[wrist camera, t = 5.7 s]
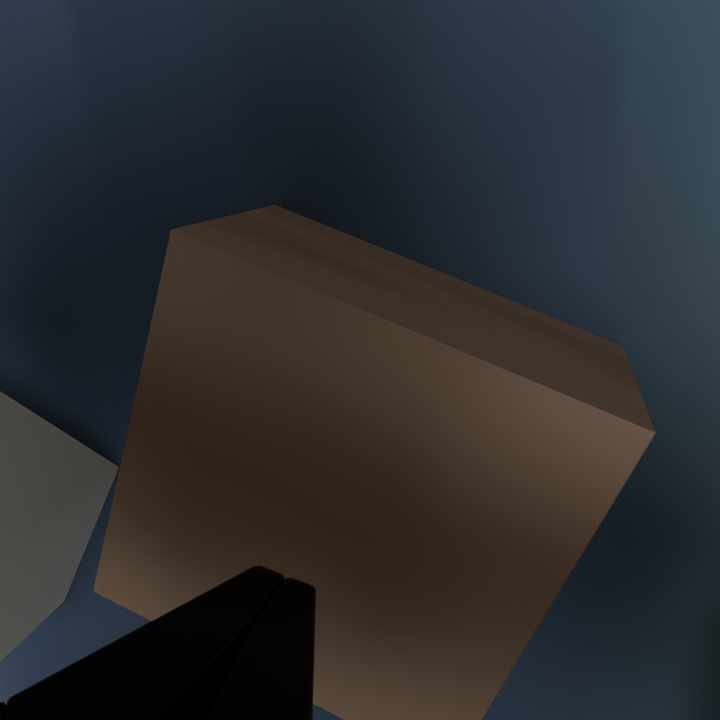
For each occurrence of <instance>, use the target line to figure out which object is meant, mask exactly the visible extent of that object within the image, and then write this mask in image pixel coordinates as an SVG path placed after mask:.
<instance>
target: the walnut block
mask: <svg viewBox="0 0 720 720" xmlns="http://www.w3.org/2000/svg"><path fill="white" fill-rule="evenodd" d="M655 433H656V432H655V430H654V427H653V424H652V422H651V419H650V416H649V414H648V411H647V409H646V406H645V403H644V401H643V398H642V395H641V393H640V390H639V387H638V385H637V382H636V379H635V377H634V374H633V372H632V369H631V366H630V364H629V361H628V358H627V356H626V353H625V350H624V348H623V345H620V344H618V343H615V342H613V341H611V340H608V339H606V338H603V337H601V336H598V335H596V334H593V333H591V332H588V331H586V330H583V329H581V328H578V327H576V326H573V325H571V324H569V323H566V322H564V321H561V320H559V319H556V318H554V317H551V316H549V315H546V314H544V313H541V312H539V311H536V310H534V309H531V308H529V307H527V306H524V305H522V304H519V303H517V302H514V301H512V300H509V299H507V298H504V297H502V296H499V295H497V294H494V293H492V292H489V291H487V290H485V289H482V288H480V287H477V286H475V285H472V284H470V283H467V282H465V281H462V280H460V279H457V278H455V277H452V276H450V275H448V274H445V273H443V272H440V271H438V270H435V269H433V268H430V267H428V266H425V265H423V264H420V263H418V262H415V261H413V260H410V259H408V258H406V257H403V256H401V255H398V254H396V253H393V252H391V251H388V250H386V249H383V248H381V247H378V246H376V245H373V244H371V243H368V242H366V241H364V240H361V239H359V238H356V237H354V236H351V235H349V234H346V233H344V232H341V231H339V230H336V229H334V228H331V227H329V226H326V225H324V224H322V223H319V222H317V221H314V220H312V219H309V218H307V217H304V216H302V215H299V214H297V213H294V212H292V211H289V210H287V209H284V208H282V207H280V206H277V205H271V206H267V207H263V208H259V209H255V210H250V211H246V212H242V213H238V214H234V215H229V216H225V217H221V218H217V219H213V220H208V221H204V222H200V223H196V224H192V225H187V226H183V227H179V228H175V229H171V232H170V237H169V241H168V246H167V251H166V255H165V260H164V265H163V269H162V274H161V279H160V283H159V288H158V293H157V297H156V302H155V306H154V311H153V316H152V320H151V325H150V330H149V334H148V339H147V344H146V348H145V353H144V358H143V362H142V367H141V371H140V376H139V381H138V385H137V390H136V395H135V399H134V404H133V409H132V413H131V418H130V422H129V427H128V432H127V436H126V441H125V446H124V450H123V455H122V460H121V464H120V469H119V474H118V478H117V483H116V487H115V492H114V497H113V501H112V506H111V511H110V515H109V520H108V525H107V529H106V534H105V539H104V543H103V548H102V552H101V557H100V562H99V566H98V571H97V576H96V580H95V585H94V590H93V591H94V592H95V593H97V594H99V595H101V596H103V597H105V598H107V599H109V600H111V601H113V602H115V603H117V604H119V605H121V606H123V607H125V608H127V609H129V610H131V611H133V612H135V613H136V614H138V615H140V616H142V617H144V618H146V619H148V620H150V621H153V620H155V619H156V618H158V617H160V616H162V615H164V614H166V613H168V612H169V611H171V610H173V609H175V608H177V607H179V606H181V605H182V604H184V603H186V602H188V601H190V600H192V599H194V598H195V597H197V596H199V595H201V594H203V593H205V592H207V591H208V590H210V589H212V588H214V587H216V586H218V585H220V584H221V583H223V582H225V581H227V580H229V579H231V578H233V577H234V576H236V575H238V574H240V573H242V572H244V571H246V570H247V569H249V568H251V567H253V566H257V565H260V566H263V567H266V568H269V569H271V570H274V571H277V572H279V573H281V574H283V575H284V577H285V579H286V578H289V577H292V578H295V579H298V580H300V581H303V582H306V583H308V584H311V585H313V586H314V587H315V589H316V612H315V649H314V686H313V704H314V705H316V706H318V707H320V708H322V709H324V710H326V711H328V712H330V713H332V714H334V715H336V716H338V717H340V718H342V719H343V720H482V719H483V717H484V715H485V714H486V712H487V710H488V709H489V707H490V705H491V704H492V702H493V700H494V699H495V697H496V695H497V694H498V692H499V690H500V689H501V687H502V686H503V684H504V682H505V681H506V679H507V677H508V676H509V674H510V672H511V671H512V669H513V667H514V666H515V664H516V662H517V661H518V659H519V657H520V656H521V654H522V653H523V651H524V649H525V648H526V646H527V644H528V643H529V641H530V639H531V638H532V636H533V634H534V633H535V631H536V629H537V628H538V626H539V624H540V623H541V621H542V620H543V618H544V616H545V615H546V613H547V611H548V610H549V608H550V606H551V605H552V603H553V601H554V600H555V598H556V596H557V595H558V593H559V591H560V590H561V588H562V587H563V585H564V583H565V582H566V580H567V578H568V577H569V575H570V573H571V572H572V570H573V568H574V567H575V565H576V563H577V562H578V560H579V558H580V557H581V555H582V554H583V552H584V550H585V549H586V547H587V545H588V544H589V542H590V540H591V539H592V537H593V535H594V534H595V532H596V530H597V529H598V527H599V526H600V524H601V522H602V521H603V519H604V517H605V516H606V514H607V512H608V511H609V509H610V507H611V506H612V504H613V502H614V501H615V499H616V497H617V496H618V494H619V493H620V491H621V489H622V488H623V486H624V484H625V483H626V481H627V479H628V478H629V476H630V474H631V473H632V471H633V469H634V468H635V466H636V464H637V463H638V461H639V460H640V458H641V456H642V455H643V453H644V451H645V450H646V448H647V446H648V445H649V443H650V441H651V440H652V438H653V436H654V435H655Z"/></svg>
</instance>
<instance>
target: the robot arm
mask: <svg viewBox="0 0 720 720" xmlns="http://www.w3.org/2000/svg"><path fill="white" fill-rule="evenodd" d="M315 612H316V589H315V587H314V586H313V585H311V584H308V583H306V582H303V581H300V580H298V579H295V578H292V577H289V578H286V579H285V577H284V575H283V574H281V573H279V572H277V571H274V570H271V569H269V568H266V567H263V566H260V565H257V566H253V567H251V568H249V569H247V570H246V571H244V572H242V573H240V574H238V575H236V576H234V577H233V578H231V579H229V580H227V581H225V582H223V583H221V584H220V585H218V586H216V587H214V588H212V589H210V590H208V591H207V592H205V593H203V594H201V595H199V596H197V597H195V598H194V599H192V600H190V601H188V602H186V603H184V604H182V605H181V606H179V607H177V608H175V609H173V610H171V611H169V612H168V613H166V614H164V615H162V616H160V617H158V618H156V619H155V620H153V621H151V622H149V623H147V624H145V625H143V626H142V627H140V628H138V629H136V630H134V631H132V632H130V633H129V634H127V635H125V636H123V637H121V638H119V639H117V640H116V641H114V642H112V643H110V644H108V645H106V646H104V647H103V648H101V649H99V650H97V651H95V652H93V653H91V654H90V655H88V656H86V657H84V658H82V659H80V660H78V661H77V662H75V663H73V664H71V665H69V666H67V667H65V668H64V669H62V670H60V671H58V672H56V673H54V674H52V675H51V676H49V677H47V678H45V679H43V680H41V681H39V682H38V683H36V684H34V685H32V686H30V687H28V688H26V689H25V690H23V691H21V692H19V693H17V694H15V695H13V696H12V697H10V698H9V699H8V701H7V704H5V703H4V702H0V720H313V686H314V649H315Z"/></svg>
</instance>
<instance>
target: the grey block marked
mask: <svg viewBox="0 0 720 720" xmlns="http://www.w3.org/2000/svg"><path fill="white" fill-rule="evenodd" d="M118 468H119V467H118V466H116V465H115V464H113V463H112V462H110V461H109V460H107V459H105V458H104V457H102V456H101V455H99V454H98V453H96V452H95V451H93V450H91V449H90V448H88V447H87V446H85V445H84V444H82V443H80V442H79V441H77V440H76V439H74V438H73V437H71V436H69V435H68V434H66V433H65V432H63V431H62V430H60V429H58V428H57V427H55V426H54V425H52V424H51V423H49V422H47V421H46V420H44V419H43V418H41V417H40V416H38V415H37V414H35V413H33V412H32V411H30V410H29V409H27V408H26V407H24V406H22V405H21V404H19V403H18V402H16V401H15V400H13V399H11V398H10V397H8V396H7V395H5V394H4V393H2V392H0V662H1V661H2V660H3V659H4V658H5V657H6V656H7V655H8V654H9V653H10V652H11V651H12V650H13V649H14V648H15V647H17V646H18V645H19V644H20V643H21V642H22V641H23V640H24V639H25V638H26V637H27V636H28V635H29V634H30V633H31V632H32V631H33V630H34V629H35V628H36V627H37V626H39V625H40V624H41V623H42V622H43V621H44V620H45V619H46V618H47V617H48V616H49V615H50V614H51V613H52V612H53V611H54V610H55V609H56V608H57V607H58V606H59V605H61V604H62V603H63V602H64V601H65V598H66V596H67V593H68V591H69V588H70V586H71V584H72V581H73V579H74V576H75V574H76V571H77V569H78V566H79V564H80V561H81V559H82V557H83V554H84V552H85V549H86V547H87V544H88V542H89V539H90V537H91V534H92V532H93V530H94V527H95V525H96V522H97V520H98V517H99V515H100V512H101V510H102V507H103V505H104V502H105V500H106V498H107V495H108V493H109V490H110V488H111V485H112V483H113V480H114V478H115V475H116V473H117V471H118Z"/></svg>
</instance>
